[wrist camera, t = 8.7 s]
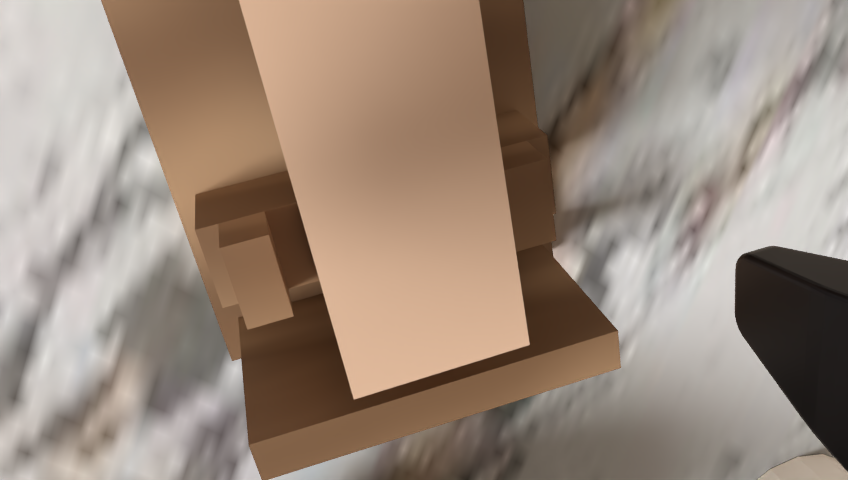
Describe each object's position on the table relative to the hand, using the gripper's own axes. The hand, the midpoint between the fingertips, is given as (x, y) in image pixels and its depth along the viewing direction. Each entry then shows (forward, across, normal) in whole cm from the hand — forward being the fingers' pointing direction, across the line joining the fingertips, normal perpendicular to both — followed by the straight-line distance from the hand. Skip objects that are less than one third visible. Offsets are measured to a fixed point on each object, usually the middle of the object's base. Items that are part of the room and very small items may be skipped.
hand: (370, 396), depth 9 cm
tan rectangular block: (+9, -2, -1) cm, 9 cm away
